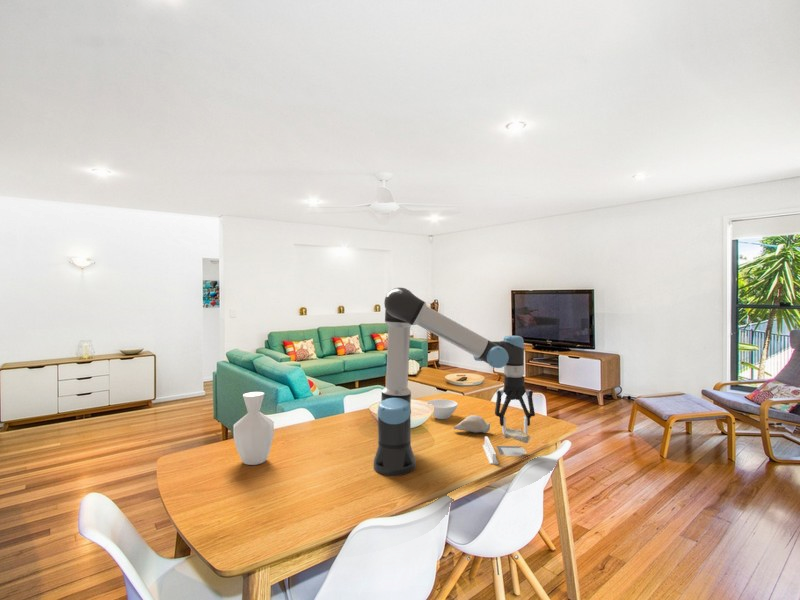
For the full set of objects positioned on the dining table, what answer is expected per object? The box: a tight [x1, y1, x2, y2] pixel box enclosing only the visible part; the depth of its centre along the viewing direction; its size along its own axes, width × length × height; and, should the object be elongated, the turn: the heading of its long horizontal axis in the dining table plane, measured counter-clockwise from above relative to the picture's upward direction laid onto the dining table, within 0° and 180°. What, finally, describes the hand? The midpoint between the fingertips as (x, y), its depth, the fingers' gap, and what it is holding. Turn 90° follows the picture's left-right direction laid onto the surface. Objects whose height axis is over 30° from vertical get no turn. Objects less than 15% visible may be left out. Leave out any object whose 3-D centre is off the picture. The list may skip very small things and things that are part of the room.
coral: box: [502, 427, 531, 444], centre depth 153 cm, size 6×10×4 cm, turn 52°
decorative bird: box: [453, 414, 491, 434], centre depth 177 cm, size 9×16×8 cm, turn 79°
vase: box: [232, 391, 275, 466], centre depth 148 cm, size 14×14×25 cm
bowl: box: [425, 398, 459, 420], centre depth 201 cm, size 16×16×7 cm
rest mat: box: [496, 445, 527, 457], centre depth 154 cm, size 12×12×1 cm
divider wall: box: [482, 436, 499, 465], centre depth 152 cm, size 3×18×4 cm, turn 177°
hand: (514, 433), depth 154 cm, fingers closed on coral, 8 cm apart
